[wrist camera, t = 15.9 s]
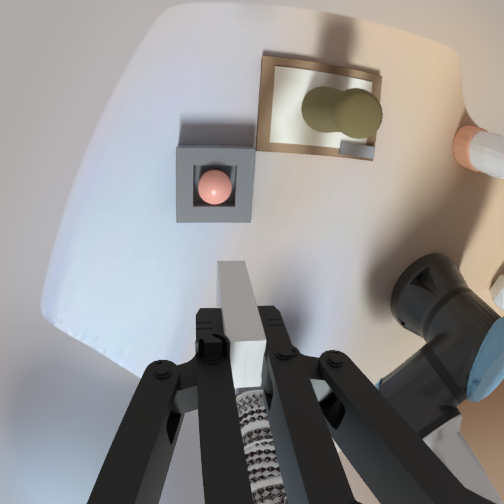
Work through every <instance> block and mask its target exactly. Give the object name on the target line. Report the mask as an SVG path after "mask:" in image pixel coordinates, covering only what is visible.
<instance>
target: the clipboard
mask: <svg viewBox="0 0 504 504" xmlns="http://www.w3.org/2000/svg"><path fill="white" fill-rule="evenodd" d="M381 83H382V76H379V75H375V74H371V73H367V72H363V71H358V70H354V69H349V68H344V67H339V66H334V65H328V64H322V63H316V62H310V61H303V60H296V59H289V58H280V57H271V56H262V62H261V76H260V91H259V105H258V120H257V135H256V151H266V152H284V153H298V154H311V155H323V156H333V157H343V158H352V159H361V160H369V161H373V158H374V151H375V141H376V133H377V131H376V132H375V133H374V134H373V135H371V136H370V137H367V138H362V139H355V138H351V137H348V136H346V135H344V134H343V133H342V132H332V133H322V132H318V131H315V130H313V129H312V128H310V127H309V126H308V125H307V124H306V122H305V120H304V119H303V116H302V111H301V108H302V102H303V99H304V97H305V95H306V94H307V93H308V92H309V91H310V90H312V89H314V88H316V87H321V86H324V87H330V88H334V89H338V90H341V91H345V90H346V89H351V88H360V89H365V90H366V91H368V92H370V93H372V94H373V95H374V96H375V97H376V98H377V99H378V101H379V103H380V95H381Z"/></svg>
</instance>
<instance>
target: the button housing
mask: <svg viewBox="0 0 504 504" xmlns="http://www.w3.org/2000/svg"><path fill="white" fill-rule="evenodd" d="M255 150H256V149H255V148H253V147H252V146H237V145H178V146H177V148H176V219H177V223H193V222H242V223H251V210H252V195H253V180H254V165H255ZM210 168H219V169H221V170H223V171H225V172H226V173H227V175H228V177H229V179H230V182H231V186H232V190H231V194H230V196H229V197H228V199H227V200H225V201H224V202H222V203H220V204H210V203H207V202H205V201H204V200H203V199H202V198H201V197H200V195H199V191H198V182H199V178H200V176H201V174H202V173H203V172H204V171H206V170H208V169H210Z"/></svg>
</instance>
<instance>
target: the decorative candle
mask: <svg viewBox="0 0 504 504" xmlns="http://www.w3.org/2000/svg"><path fill="white" fill-rule="evenodd" d="M262 395H263V390H250V391H246V392H244V393H242V394H240V395H238V396H237V397H236V402H237V408H238V415H239V421H240V427H241V433H242V439H243V445H244V451H245V457H246V463H247V468H248V474H249V480H250V485H251V491H252V496H253V501H254V504H288V501H287V497H286V493H285V489H284V485H283V481H282V477H281V472H280V468H279V464H278V460H277V456H276V451H275V447H274V443H273V438H272V434H271V430H270V425H269V421H268V417H267V412H266V408H265V403H264V406H261V402H262Z"/></svg>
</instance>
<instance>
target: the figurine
mask: <svg viewBox="0 0 504 504" xmlns="http://www.w3.org/2000/svg"><path fill="white" fill-rule="evenodd" d="M490 293H491V296H492V299H493V302H494V303H495V304H496V305H497V306H498V307H499V308H500V309H501V311H503V310H504V275H499V277H498V278H497V280H496V281H495V283H494V284H493V285H492V287H491V288H490Z"/></svg>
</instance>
